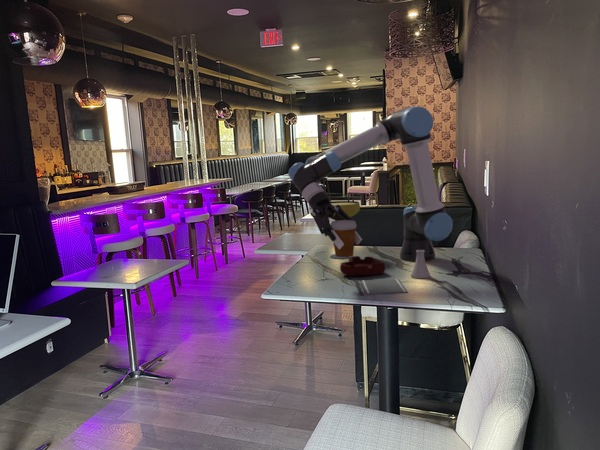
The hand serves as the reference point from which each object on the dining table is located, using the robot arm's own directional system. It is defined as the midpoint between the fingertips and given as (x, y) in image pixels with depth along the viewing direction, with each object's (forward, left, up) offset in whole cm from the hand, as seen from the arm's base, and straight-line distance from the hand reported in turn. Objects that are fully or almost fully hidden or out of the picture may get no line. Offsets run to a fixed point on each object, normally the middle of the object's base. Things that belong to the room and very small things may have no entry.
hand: (350, 244), depth 161 cm
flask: (-27, -11, -16) cm, 33 cm away
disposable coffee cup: (+2, -2, -4) cm, 6 cm away
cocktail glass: (0, -51, -16) cm, 54 cm away
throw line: (-2, +1, -16) cm, 16 cm away
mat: (-11, +1, -16) cm, 19 cm away
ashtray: (-7, -20, -16) cm, 26 cm away
